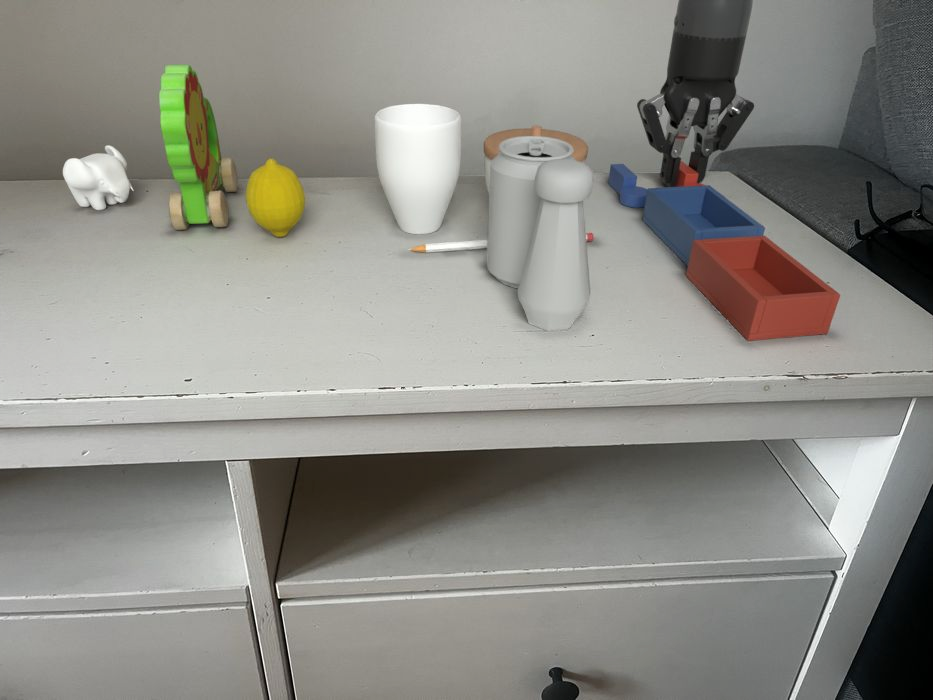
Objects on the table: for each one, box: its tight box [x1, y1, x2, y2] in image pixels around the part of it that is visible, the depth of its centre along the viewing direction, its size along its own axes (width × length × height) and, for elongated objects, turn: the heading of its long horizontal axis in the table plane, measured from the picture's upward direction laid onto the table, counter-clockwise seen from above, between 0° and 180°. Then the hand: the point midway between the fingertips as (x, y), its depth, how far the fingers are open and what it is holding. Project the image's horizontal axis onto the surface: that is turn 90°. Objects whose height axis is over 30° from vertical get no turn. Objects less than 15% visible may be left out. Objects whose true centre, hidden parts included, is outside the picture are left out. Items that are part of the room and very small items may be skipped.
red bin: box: [685, 235, 841, 341], centre depth 61 cm, size 7×11×4 cm, turn 10°
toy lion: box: [158, 64, 239, 231], centre depth 73 cm, size 16×5×15 cm, turn 9°
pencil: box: [407, 232, 594, 253], centre depth 70 cm, size 1×19×1 cm, turn 102°
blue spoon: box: [607, 163, 648, 209], centre depth 83 cm, size 8×3×2 cm, turn 10°
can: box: [486, 136, 576, 289], centre depth 63 cm, size 8×8×12 cm
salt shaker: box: [517, 159, 595, 332], centre depth 56 cm, size 6×6×13 cm
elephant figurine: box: [62, 145, 135, 211], centre depth 76 cm, size 7×8×6 cm
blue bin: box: [642, 184, 766, 267], centre depth 72 cm, size 7×11×4 cm, turn 10°
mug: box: [373, 103, 462, 235], centre depth 73 cm, size 12×8×11 cm
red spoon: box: [676, 160, 706, 187], centre depth 84 cm, size 8×3×2 cm, turn 10°
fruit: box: [245, 156, 306, 238], centre depth 70 cm, size 6×6×8 cm
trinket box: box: [483, 125, 589, 193], centre depth 76 cm, size 11×11×9 cm
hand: (680, 184), depth 86 cm, fingers closed
